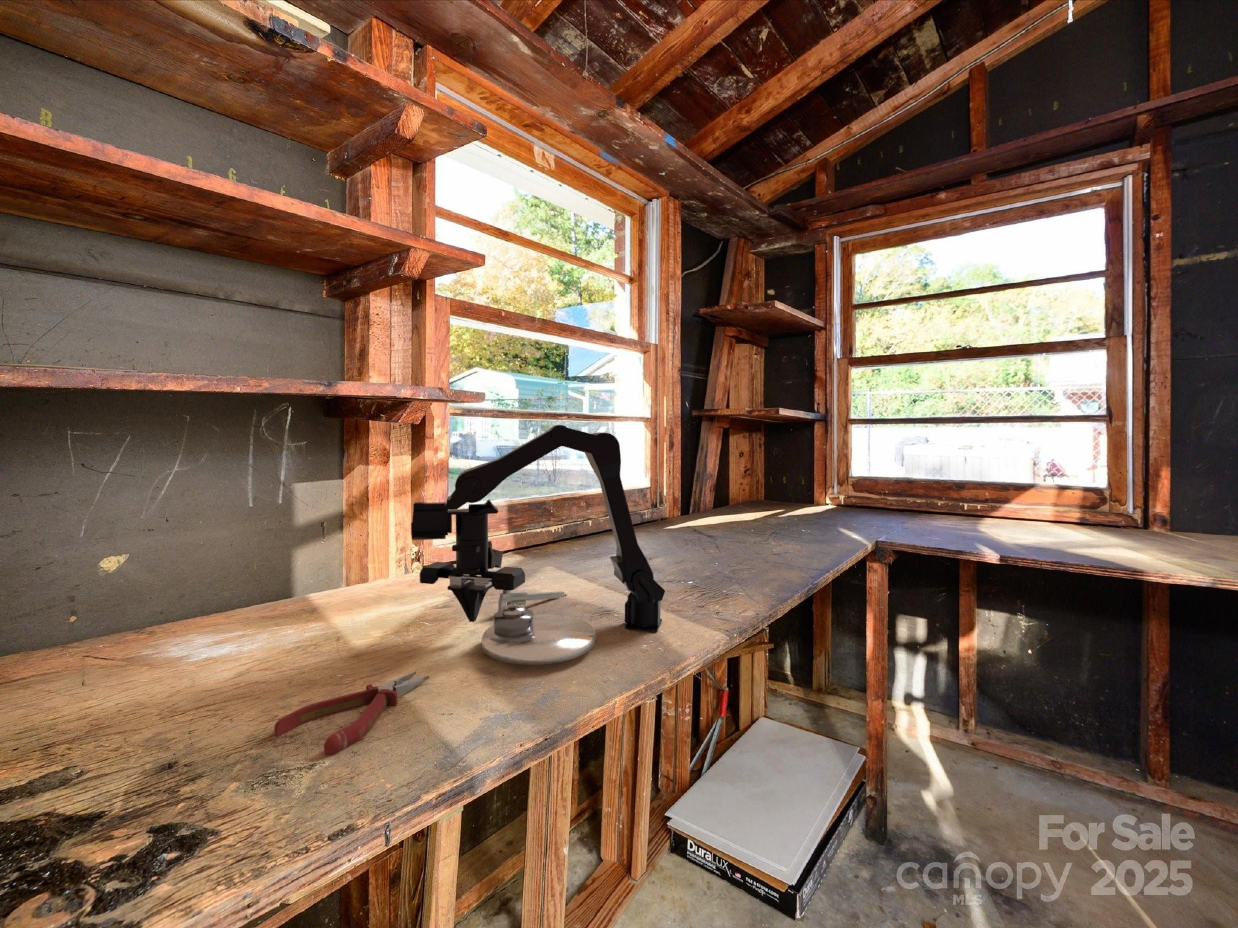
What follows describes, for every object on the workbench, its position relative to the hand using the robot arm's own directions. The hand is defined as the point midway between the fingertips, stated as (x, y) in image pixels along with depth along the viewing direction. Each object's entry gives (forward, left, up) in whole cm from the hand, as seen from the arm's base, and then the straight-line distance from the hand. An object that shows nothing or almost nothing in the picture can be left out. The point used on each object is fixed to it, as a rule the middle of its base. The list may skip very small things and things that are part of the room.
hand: (472, 621), depth 100 cm
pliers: (+1, +27, -4) cm, 28 cm away
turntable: (-13, 0, -2) cm, 13 cm away
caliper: (-3, -22, -4) cm, 23 cm away
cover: (-8, 0, -1) cm, 8 cm away
